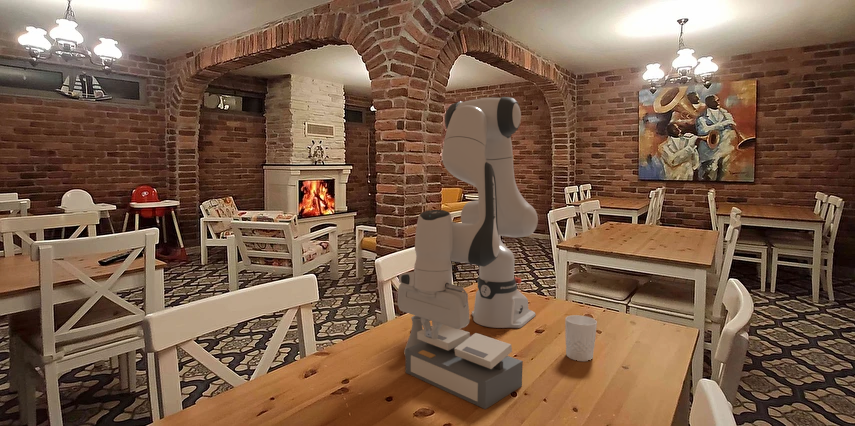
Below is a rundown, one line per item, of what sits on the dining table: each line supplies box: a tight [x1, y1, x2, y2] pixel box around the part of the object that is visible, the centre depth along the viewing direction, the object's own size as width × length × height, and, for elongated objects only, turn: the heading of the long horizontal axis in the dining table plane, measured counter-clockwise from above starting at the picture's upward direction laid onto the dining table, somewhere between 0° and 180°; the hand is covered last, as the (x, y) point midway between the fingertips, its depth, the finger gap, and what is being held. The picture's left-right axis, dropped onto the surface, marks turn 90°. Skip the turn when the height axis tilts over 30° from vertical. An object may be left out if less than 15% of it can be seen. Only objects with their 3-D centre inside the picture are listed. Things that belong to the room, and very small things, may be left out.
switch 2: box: [454, 332, 513, 369], centre depth 104 cm, size 8×10×2 cm
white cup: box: [564, 314, 598, 362], centre depth 122 cm, size 8×8×10 cm
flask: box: [403, 315, 424, 357], centre depth 123 cm, size 7×7×10 cm
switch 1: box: [417, 324, 471, 351], centre depth 112 cm, size 8×10×2 cm
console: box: [405, 342, 524, 410], centre depth 108 cm, size 14×24×8 cm, turn 46°
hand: (431, 337), depth 109 cm, fingers closed, pressing on switch 1
